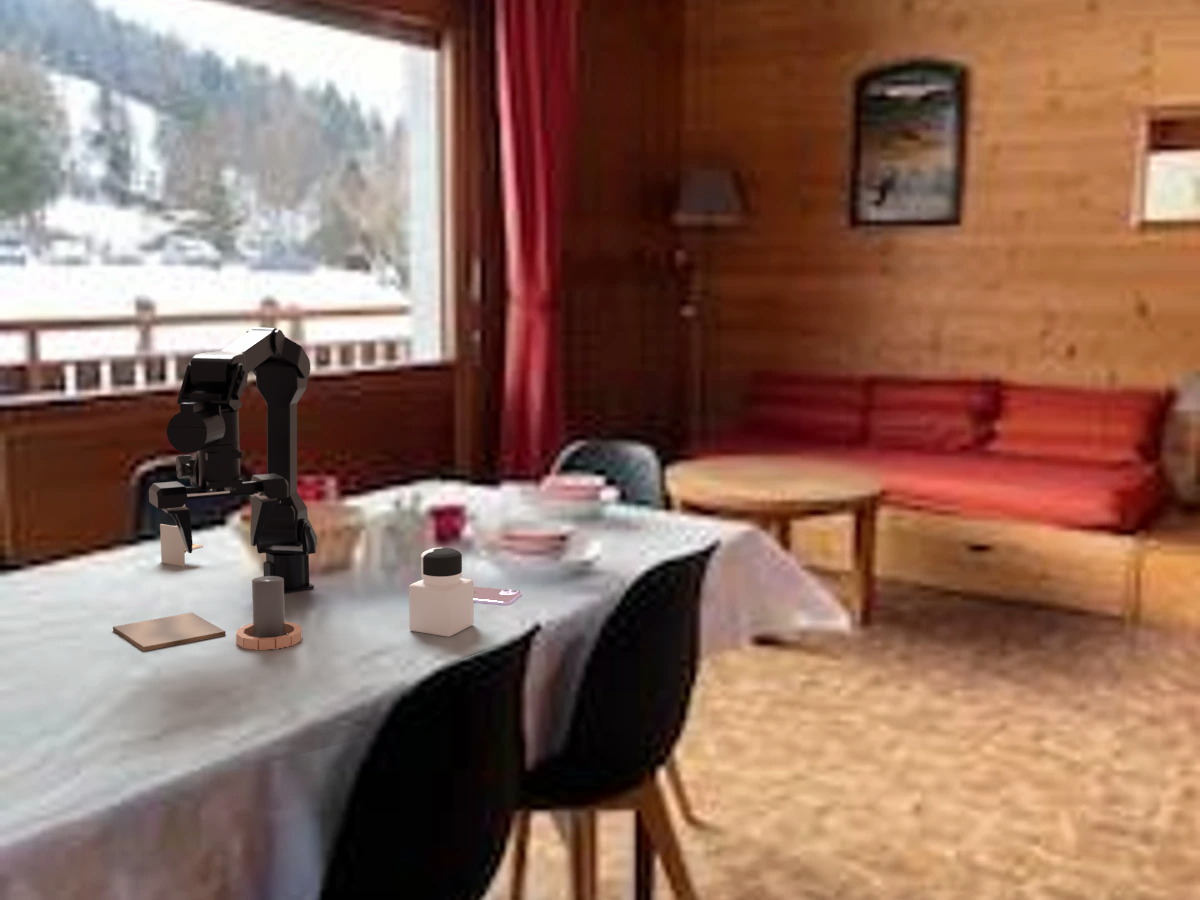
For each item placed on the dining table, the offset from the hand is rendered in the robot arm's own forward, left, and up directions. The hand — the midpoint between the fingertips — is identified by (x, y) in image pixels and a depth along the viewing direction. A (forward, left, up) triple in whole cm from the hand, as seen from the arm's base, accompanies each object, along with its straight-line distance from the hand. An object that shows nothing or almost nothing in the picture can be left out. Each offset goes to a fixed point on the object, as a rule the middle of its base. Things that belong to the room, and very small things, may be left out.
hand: (221, 549), depth 184 cm
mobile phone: (-41, +4, -13) cm, 43 cm away
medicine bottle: (-27, +17, -13) cm, 34 cm away
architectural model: (-11, -44, -14) cm, 48 cm away
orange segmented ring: (-4, +7, -13) cm, 15 cm away
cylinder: (-4, +7, -13) cm, 15 cm away
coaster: (+6, -5, -13) cm, 15 cm away
